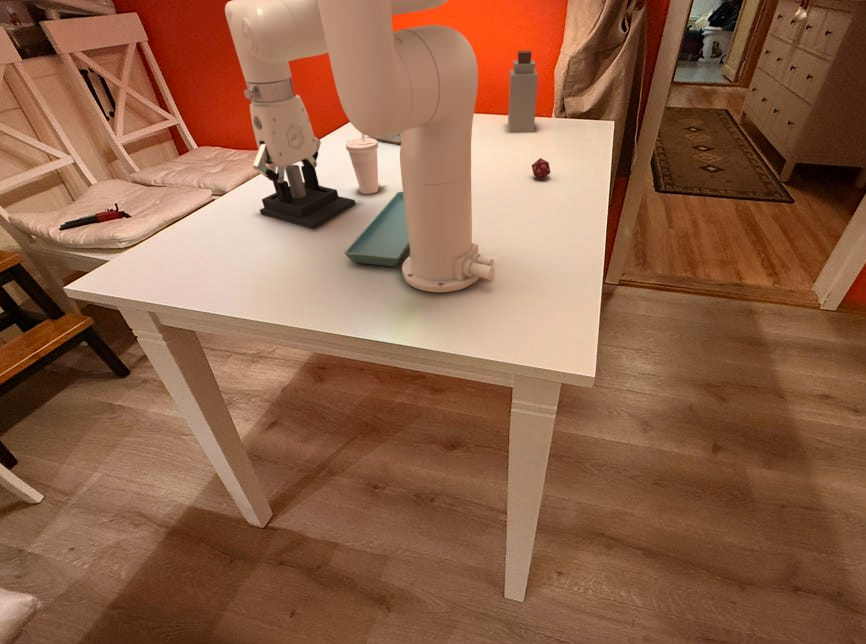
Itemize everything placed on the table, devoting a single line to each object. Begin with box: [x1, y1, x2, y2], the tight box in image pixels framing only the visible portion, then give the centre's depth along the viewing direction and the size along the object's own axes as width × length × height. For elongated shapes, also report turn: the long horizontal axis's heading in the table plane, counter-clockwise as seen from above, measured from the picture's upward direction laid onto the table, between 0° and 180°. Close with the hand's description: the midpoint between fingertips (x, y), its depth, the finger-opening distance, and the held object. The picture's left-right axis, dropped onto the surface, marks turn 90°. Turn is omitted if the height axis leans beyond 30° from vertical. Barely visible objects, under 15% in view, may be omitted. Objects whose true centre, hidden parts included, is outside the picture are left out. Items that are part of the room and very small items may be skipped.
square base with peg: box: [274, 164, 325, 206], centre depth 89 cm, size 7×7×7 cm
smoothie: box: [345, 132, 379, 195], centre depth 93 cm, size 6×6×14 cm
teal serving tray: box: [344, 191, 410, 267], centre depth 82 cm, size 26×9×2 cm, turn 167°
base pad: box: [259, 181, 356, 230], centre depth 91 cm, size 14×12×3 cm
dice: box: [531, 157, 551, 181], centre depth 99 cm, size 4×4×4 cm
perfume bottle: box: [507, 49, 539, 133], centre depth 122 cm, size 7×7×18 cm
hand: (299, 193), depth 90 cm, fingers open, 6 cm apart
